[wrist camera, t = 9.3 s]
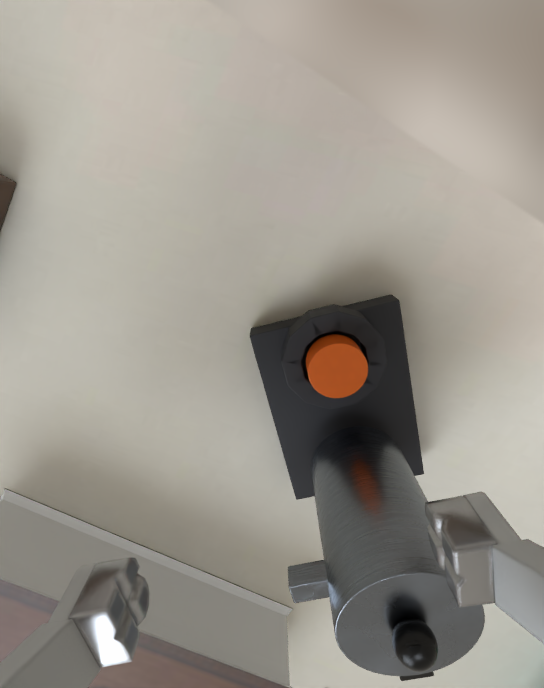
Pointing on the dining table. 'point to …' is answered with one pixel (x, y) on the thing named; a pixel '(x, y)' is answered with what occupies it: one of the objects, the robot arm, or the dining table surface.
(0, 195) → the dial panel
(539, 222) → the dining table surface
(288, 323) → the button base
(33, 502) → the book
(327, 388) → the orange button
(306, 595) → the kettle
